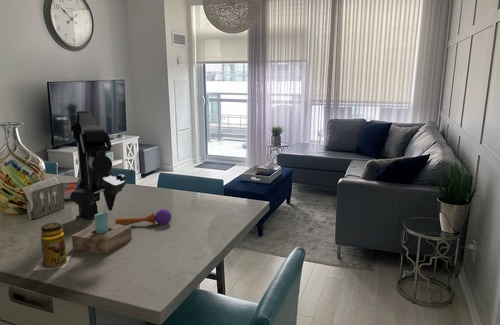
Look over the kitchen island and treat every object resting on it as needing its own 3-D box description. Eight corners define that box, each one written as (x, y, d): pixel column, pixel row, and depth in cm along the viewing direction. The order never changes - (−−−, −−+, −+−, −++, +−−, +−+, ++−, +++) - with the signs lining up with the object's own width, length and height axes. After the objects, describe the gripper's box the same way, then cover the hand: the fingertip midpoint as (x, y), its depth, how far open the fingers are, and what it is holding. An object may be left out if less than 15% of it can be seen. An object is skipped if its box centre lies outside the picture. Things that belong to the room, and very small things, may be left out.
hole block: (72, 248, 121) (71, 235, 120) (100, 233, 133) (99, 221, 132) (106, 254, 117) (104, 241, 116) (131, 238, 129) (131, 226, 128)
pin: (93, 242, 124) (91, 216, 122) (102, 237, 128) (100, 212, 126) (103, 243, 123) (101, 217, 121) (112, 239, 126) (110, 213, 124)
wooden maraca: (117, 213, 143) (170, 207, 145) (119, 229, 143) (172, 222, 146) (113, 216, 137) (169, 209, 139) (115, 232, 137) (171, 225, 140)
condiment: (65, 267, 109) (60, 228, 106) (32, 271, 107) (27, 231, 105) (70, 256, 116) (66, 219, 113) (40, 259, 114) (36, 222, 112)
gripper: (96, 176, 109) (101, 227, 112) (136, 164, 126) (139, 208, 129) (66, 174, 112) (71, 223, 115) (108, 161, 129) (112, 205, 133)
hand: (100, 214), depth 123 cm, fingers open, 9 cm apart
